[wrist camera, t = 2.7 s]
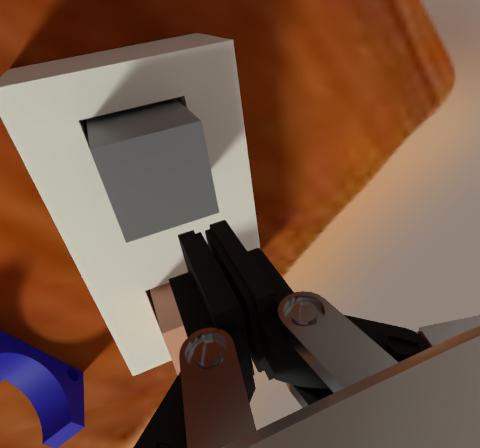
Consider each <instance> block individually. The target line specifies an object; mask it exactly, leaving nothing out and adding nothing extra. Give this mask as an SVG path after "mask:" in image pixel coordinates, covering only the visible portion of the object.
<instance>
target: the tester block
mask: <svg viewBox="0 0 480 448" xmlns="http://www.w3.org/2000/svg"><path fill="white" fill-rule="evenodd" d="M173 98H176V99H177V100H178V101H179V102H180V103H182V104H183V105H184V106H185V107H186V108H187V109H188V110H190V111H191V112H192V113H193V114H194V115H195V116H196V117H198V118H199V119H200V120H201V122H202V127H203V132H204V137H205V142H206V147H207V152H208V157H209V162H210V168H211V173H212V178H213V183H214V188H215V193H216V198H217V203H218V208H219V213H217V214H213V215H210V216H207V217H204V218H201V219H198V220H195V221H192V222H189V223H186V224H183V225H180V226H177V227H173V228H170V229H167V230H164V231H161V232H158V233H155V234H152V235H149V236H146V237H143V238H140V239H137V240H134V241H130V242H127V243H126V241H125V239H124V236H123V234H122V231H121V228H120V226H119V223H118V221H117V218H116V216H115V213H114V211H113V208H112V205H111V203H110V200H109V198H108V195H107V193H106V190H105V187H104V185H103V182H102V180H101V177H100V175H99V172H98V170H97V167H96V164H95V162H94V159H93V157H92V154H91V152H90V149H89V140H88V131H87V122H86V119H88V118H92V117H96V116H100V115H105V114H109V113H113V112H117V111H122V110H126V109H130V108H134V107H139V106H143V105H147V104H151V103H156V102H160V101H164V100H168V99H173ZM0 117H1V119H2V121H3V123H4V125H5V127H6V129H7V131H8V132H9V134H10V136H11V138H12V140H13V142H14V144H15V146H16V148H17V150H18V152H19V154H20V156H21V158H22V160H23V162H24V164H25V166H26V168H27V170H28V172H29V174H30V176H31V178H32V180H33V181H34V183H35V185H36V187H37V189H38V191H39V193H40V195H41V197H42V199H43V201H44V203H45V205H46V207H47V209H48V211H49V213H50V215H51V217H52V219H53V221H54V223H55V225H56V227H57V229H58V230H59V232H60V234H61V236H62V238H63V240H64V242H65V244H66V246H67V248H68V250H69V252H70V254H71V256H72V258H73V260H74V262H75V264H76V266H77V268H78V270H79V272H80V274H81V276H82V278H83V279H84V281H85V283H86V285H87V287H88V289H89V291H90V293H91V295H92V297H93V299H94V301H95V303H96V305H97V307H98V309H99V311H100V313H101V315H102V317H103V319H104V321H105V323H106V325H107V327H108V328H109V330H110V332H111V334H112V336H113V338H114V340H115V342H116V344H117V346H118V348H119V350H120V352H121V354H122V356H123V358H124V360H125V362H126V364H127V366H128V368H129V370H130V372H131V374H132V376H135V375H137V374H140V373H142V372H145V371H147V370H149V369H152V368H154V367H157V366H159V365H161V364H164V363H166V362H169V361H171V360H172V359H171V356H170V354H169V351H168V349H167V346H166V344H165V341H164V339H163V336H162V333H161V329H160V326H159V322H158V318H157V315H156V311H155V307H154V304H153V300H152V296H151V293H150V289H152V288H155V287H158V286H160V285H163V284H166V283H169V280H168V279H170V278H173V277H176V276H179V275H181V274H184V273H187V272H188V270H187V266H186V263H185V260H184V256H183V253H182V249H181V246H180V242H179V239H178V235H179V234H182V233H185V232H189V231H192V230H194V232H195V234H196V233H199V232H201V233H202V235H203V237H204V239H205V241H206V242H207V239H206V234H205V230H208V229H210V224H213V223H216V222H219V221H222V220H226V222H227V223H228V224H229V226H230V227H231V229H232V230H233V232H234V233H235V234H236V236H237V237H238V239H239V240H240V241H241V243H242V244H243V246H244V247H245V249H246V250H247V251H250V250H252V249H255V248H260V242H259V235H258V227H257V219H256V212H255V204H254V196H253V188H252V181H251V173H250V165H249V158H248V150H247V142H246V135H245V127H244V119H243V112H242V104H241V96H240V89H239V81H238V73H237V66H236V58H235V50H234V43H233V40H232V39H227V38H221V37H216V36H211V35H206V34H200V33H193V34H188V35H183V36H178V37H173V38H168V39H162V40H157V41H152V42H147V43H142V44H137V45H131V46H126V47H121V48H116V49H111V50H106V51H100V52H95V53H90V54H85V55H80V56H74V57H69V58H64V59H59V60H54V61H49V62H43V63H38V64H33V65H28V66H23V67H18V68H12V69H9V70H8V71H7V72H5V73H4V74H3V75H2V76H1V77H0ZM207 244H208V243H207Z"/></svg>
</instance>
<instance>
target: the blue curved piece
mask: <svg viewBox="0 0 480 448" xmlns="http://www.w3.org/2000/svg"><path fill="white" fill-rule="evenodd" d="M3 379H4V380H6V381H8V382H10V383H11V384H13V385H14V386H16V387H17V388H18V389H20V390H21V391H22V392H23V393H24V394H25V395H26V396H27V397H28V399H29V400H30V401H31V403H32V404H33V406H34V408H35V410H36V412H37V414H38V416H39V419H40V423H41V427H42V434H43V444H45V445H48V446H52V447H55V448H58V447H59V446H60V445H62V444H63V443H64V442H66V441H67V440H68V439H70V438H71V437H72V436H73V435H75V434H76V433H77V432H79V431H80V430H81V429H82V428H84V427H85V426H84V386H83V372H81V371H80V370H78V369H76V368H74V367H72V366H70V365H68V364H66V363H64V362H62V361H60V360H58V359H56V358H54V357H52V356H50V355H48V354H46V353H44V352H42V351H40V350H38V349H36V348H34V347H32V346H30V345H28V344H26V343H24V342H22V341H20V340H19V339H17V338H15V337H13V336H11V335H9V334H7V333H5V332H3V331H1V330H0V382H1V381H2V380H3Z"/></svg>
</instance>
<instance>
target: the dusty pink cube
mask: <svg viewBox="0 0 480 448" xmlns="http://www.w3.org/2000/svg"><path fill="white" fill-rule="evenodd" d="M150 293H151V296H152V300H153V304H154V307H155V311H156V315H157V318H158V322H159V326H160V329H161V333H162V336H163V339H164V341H165V344H166V346H167V349H168V351H169V354H170V356H171V359H172V362H173V364H174V367H175V369H176V372H177V374H178V375H179V373H180V362H179V353H180V349H181V346H182V344H183V342H184V341H185V340H186V339H187V338H188V337H187V334H186V331H185V328H184V325H183V322H182V319H181V316H180V313H179V310H178V307H177V304H176V301H175V298H174V295H173V292H172V289H171V286H170V283H166V284H163V285H160V286H158V287H155V288H152V289H150Z"/></svg>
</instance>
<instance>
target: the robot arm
mask: <svg viewBox="0 0 480 448" xmlns="http://www.w3.org/2000/svg"><path fill="white" fill-rule="evenodd" d="M205 234H206V239H207V242H206V241H205V239H204V237H203V235H202V233H201V232H199V233H196V234H195V232H194V230H192V231H189V232H185V233H182V234H179V235H178V239H179V242H180V246H181V249H182V253H183V256H184V260H185V263H186V266H187V270H188V272H187V273H184V274H181V275H179V276H176V277H173V278H170V279H168V280H169V283H170V286H171V289H172V292H173V295H174V298H175V301H176V304H177V307H178V310H179V313H180V316H181V319H182V322H183V325H184V328H185V331H186V334H187V337H188V338H187V339H186V340H185V341H184V342H183V344H182V346H181V349H180V353H179V362H180V373H179V375H178V376H177V378H176V379H175V381H174V383H173V384H172V386H171V388H170V389H169V391H168V392H167V394H166V396H165V397H164V399H163V401H162V402H161V404H160V405H159V407H158V409H157V410H156V412H155V414H154V415H153V417H152V419H151V420H150V422H149V423H148V425H147V427H146V428H145V430H144V432H143V433H142V435H141V436H140V438H139V440H138V441H137V443H136V445H135V446H134V448H480V315H479V316H474V317H470V318H464V319H460V320H455V321H449V322H444V323H439V324H434V325H430V326H424V327H420V328H419V331H418V332H414V331H412V330H409V329H406V328H402V327H398V326H392V325H388V324H384V323H379V322H374V321H369V320H365V319H360V318H356V317H351V316H346V315H343V314H342V313H341V312H339V311H338V310H337V309H336V308H335V307H334V306H332V305H331V304H330V303H329V302H328V301H327V300H326V299H324V298H323V297H321V296H320V295H318V294H315V293H312V292H303V291H302V292H295V293H294V292H293V291H292V290H291V288H290V287H289V286H288V284H287V283H286V282H285V280H284V279H283V278H282V276H281V275H280V274H279V273H278V271H277V270H276V269H275V267H274V266H273V265H272V263H271V262H270V261H269V259H268V258H267V257H266V256H265V254H264V253H263V252H262V250H261V249H260V248H255V249H252V250H250V251H247V250H246V249H245V247H244V246H243V244H242V243H241V241H240V240H239V239H238V237H237V236H236V234H235V233H234V232H233V230H232V229H231V227H230V226H229V224H228V223H227V222H226V220H222V221H219V222H216V223H213V224H210V229H208V230H205ZM207 243H208V244H207ZM251 358H252V359H251ZM252 360H253V362H254V364H255V366H256V368H257V370H258V372H262V371H265V372H266V374H267V376H268V378H269V380H271V379H273V378H275V379H276V380H279V381H282V382H285V383H286V384H287V387H288V388H289V390H290V392H291V393H292V395H293V396H294V397H295V398H296V400H297V401H298V402H299V404H300V405H301V406H302V409H300V410H298V411H296V412H294V413H292V414H290V415H288V416H286V417H284V418H282V419H280V420H277V421H275V422H273V423H271V424H269V425H267V426H265V427H263V428H261V429H259V430H257V431H256V427H255V424H254V419H253V415H252V412H251V408H250V404H249V403H250V401H251V398H252V396H253V393H254V391H255V383H254V379H253V375H254V370H253V364H252Z"/></svg>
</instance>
